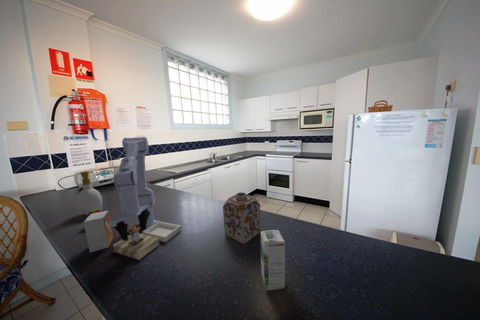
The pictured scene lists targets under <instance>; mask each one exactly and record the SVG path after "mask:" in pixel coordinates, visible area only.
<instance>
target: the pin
mask: <svg viewBox="0 0 480 320" xmlns="http://www.w3.org/2000/svg"><path fill="white" fill-rule="evenodd" d="M140 230H141V227H140V225H139V224H136V225H134V224H132V225H130V226H127V233H129V235H130V236H131V242H132V245H134V246H135V245H136V244H138V243H139V242H141V241H140V234H141V233H140ZM139 233H140V234H139Z"/></svg>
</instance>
